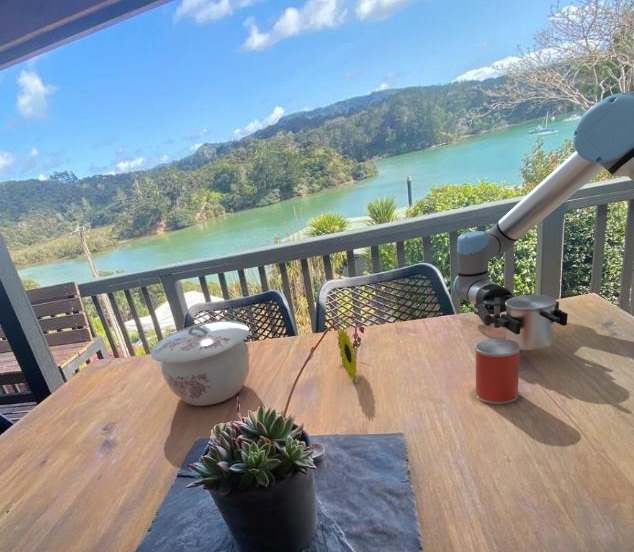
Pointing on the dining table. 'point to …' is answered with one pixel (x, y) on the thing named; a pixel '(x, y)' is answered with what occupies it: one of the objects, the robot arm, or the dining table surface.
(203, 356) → the chamber pot
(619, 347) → the dining table surface
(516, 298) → the steel pot
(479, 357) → the tin can
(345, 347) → the decorative plant
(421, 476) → the dining table surface
